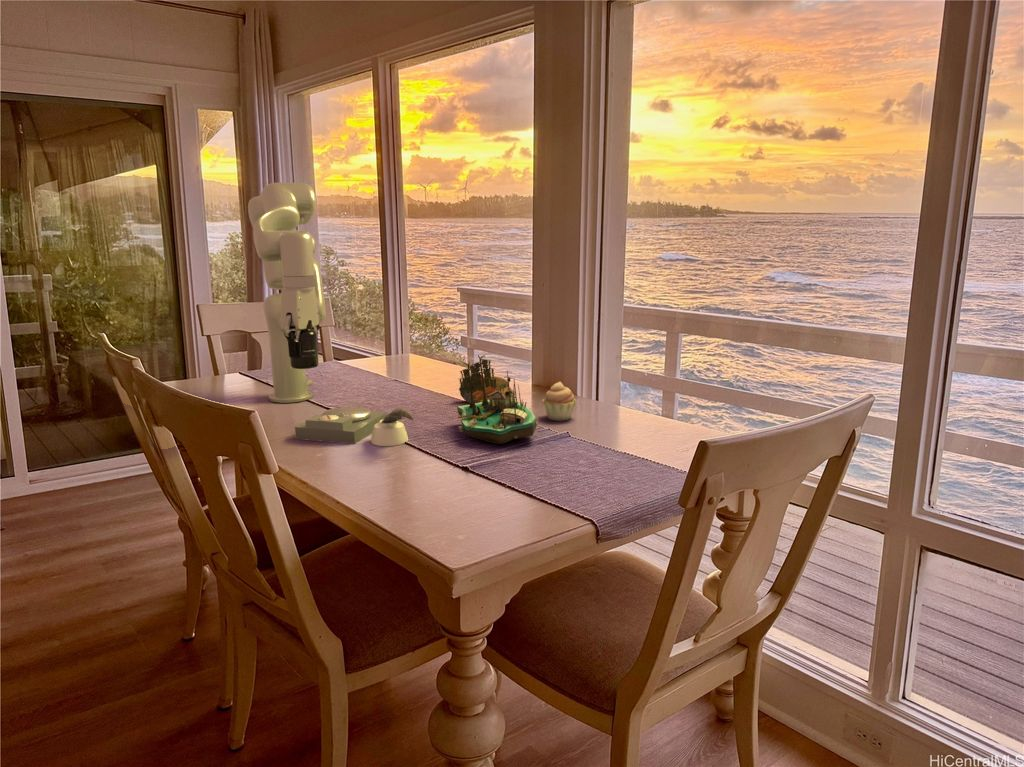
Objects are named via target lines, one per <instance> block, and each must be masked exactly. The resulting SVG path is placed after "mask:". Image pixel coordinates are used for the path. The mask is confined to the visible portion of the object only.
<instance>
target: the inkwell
mask: <svg viewBox="0 0 1024 767" xmlns="http://www.w3.org/2000/svg"><path fill="white" fill-rule="evenodd" d="M403 418H407V419H409V420H411V421H414V417H413V416H412V414H411V412H409V411H408V410H407V409H406V408H402V407H399V408H398V407H397V408H396V409H393V410H391V412H389V413H388V414H387V416H386V417H385V418H384V419H382V420H380V421H379V423H377V424H375V425H374V428H373V432H372V433H371V437H370V441H369V442H370V443H371V444H372V445H374V446H376V447H377V446H378V447H395V446H400V445H403V444H405V442H406V443H408V441H409V436H408V433H407V429H406V427H405V424H404V423H403V422H400V421H399V420H402V419H403Z"/></svg>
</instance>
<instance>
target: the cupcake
mask: <svg viewBox="0 0 1024 767" xmlns="http://www.w3.org/2000/svg"><path fill="white" fill-rule="evenodd" d="M541 401H542V403H543V405H544V408H545V412H546V413H545V414H546V417H547V419H549V420H551V421H555V422H556V421H557V422H558V421H559V422H563V421H568V420H570V419H571V418H572V415H573V413H574V412H573V410H574V408H575V406H576V405H577V402H578V401H577V400H576V398H575V395H574V393H573V392H572V390H571V389H570V388H569V387H567V386H565V385H564V384H563V382H562V381H557V382H556V383H554V384H553V385H552V386H551V387H550V388H549V390H548V391H547V392H546V393H545V398H544V399H542V400H541Z"/></svg>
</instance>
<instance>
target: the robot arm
mask: <svg viewBox="0 0 1024 767" xmlns="http://www.w3.org/2000/svg"><path fill="white" fill-rule="evenodd" d="M316 209H317V196H316V193H315V190H314V188H313V187H312V186H311V185H310V184H308V183H305V182H271V183H269V184H267V185H265V186H264V187H263V188H262V190H261V194H260V195H258V196H254V197H251V198H250V199H249V201H248V204H247V210H248V211H247V212H248V217H249V222H250V224H251V227H252V229H253V230H252V233H253V234H252V235H253V237H252V238H253V242H254V246H255V247H254V248H255V250H256V253H257V256H258V257H259V258H260V259H261V260H262V265H263V271H264V280H265V282H266V285H267V287H268V288H269V289H272V290H280V291H281V292H279V293H277V292H276V293H273V294H270V295H268V296H267V297H265V298H264V301H263V304H262V306H263V313H264V314H263V315H264V318H265V322H266V327H267V329H268V330H267V332H268V337H269V339H268V340H269V349H270V350H269V351H270V361H271V372H272V373H271V374H272V384H273V392H272V393H271V394H269V395H268V399H269V401H270V402H273V403H279V404H290V403H298V402H304V401H307V400H310V399H312V398H313V392H312V391H310V390H308V388H309V387H311V386H312V385H314V381H313V379H308V380H307V375H306V369H295V368H292V367H291V363H290V357H293V358H300V357H302V354H301V342H300V341H299V336H300V331H301V330H304V329H306V326H307V324H308V320H312V329H313V330H315V331H316V333H317V345H318V346H319V338H318V336H319V331H320V328H321V323H322V322H324V321H325V319H326V315H327V314H326V312H327V308H326V301H325V300H326V299H325V293H324V286H323V280H322V272H321V267H320V265H319V263H318V260H316V259H315V258H314V257H313V256H314V254H315V252H316V242H315V238H314V237H313V236H312V234H311V233H310V232H309V231H308V230H295V229H296V228H297V227H298V226H300V225H307V224H309V223H310V222H311V221H312V218H313V216H314V214H315V212H316ZM293 327H296V329H293ZM292 332H295V335H294V334H293V333H292ZM318 352H319V349H318Z"/></svg>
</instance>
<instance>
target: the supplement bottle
mask: <svg viewBox="0 0 1024 767" xmlns="http://www.w3.org/2000/svg"><path fill="white" fill-rule="evenodd" d="M293 329H296V327H293ZM292 333H293V334H294V335H295V332H292ZM317 337H318V336H317V333H316V331H315V330H313V329H312V320H308V324H307V326H306V329H304V330H301V331H300V336H299V341H300V342H301V354H302V357H300V358H293V357H290V363H291V367H292V368H295V369H305V370H307V369H314V368H317V367H319V351H318V350H319V344H318V345H317Z"/></svg>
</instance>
